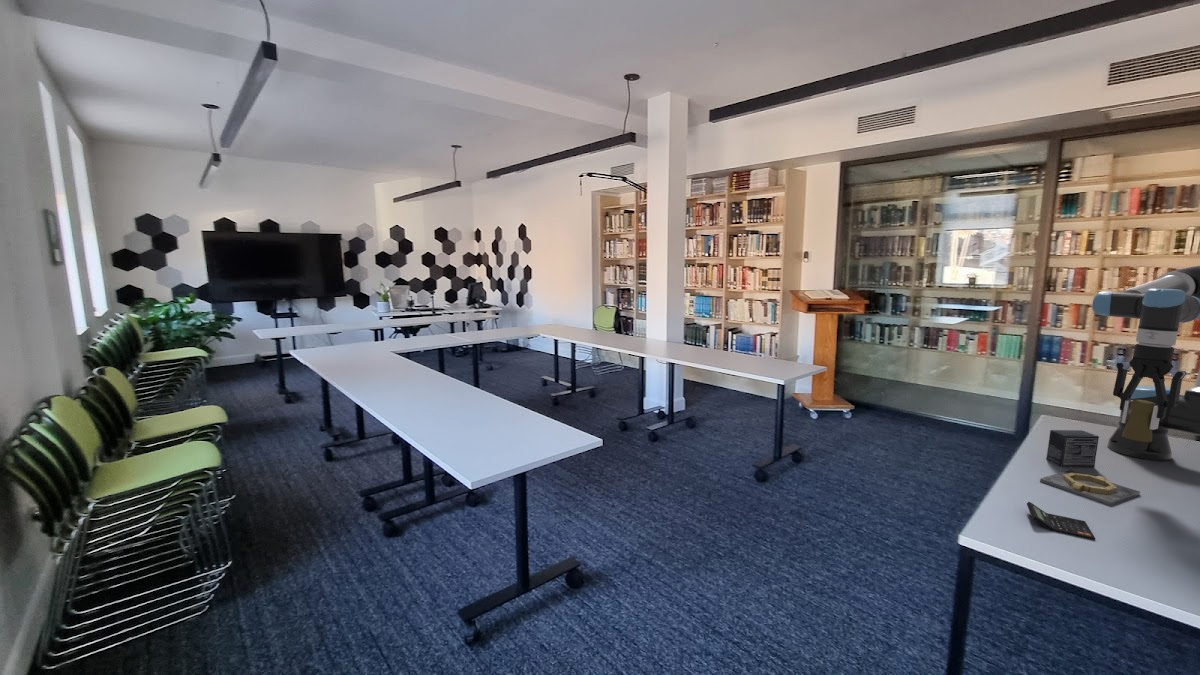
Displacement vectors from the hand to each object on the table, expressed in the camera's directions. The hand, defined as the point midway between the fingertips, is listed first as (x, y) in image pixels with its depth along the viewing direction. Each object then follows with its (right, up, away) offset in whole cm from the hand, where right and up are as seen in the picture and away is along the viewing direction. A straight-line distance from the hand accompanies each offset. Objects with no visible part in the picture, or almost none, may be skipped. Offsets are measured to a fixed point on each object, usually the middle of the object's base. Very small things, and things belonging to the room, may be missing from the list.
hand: (1139, 425), depth 146 cm
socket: (-12, -19, +3) cm, 22 cm away
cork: (0, -4, +1) cm, 4 cm away
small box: (-1, -16, +21) cm, 26 cm away
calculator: (-39, -22, -17) cm, 48 cm away
